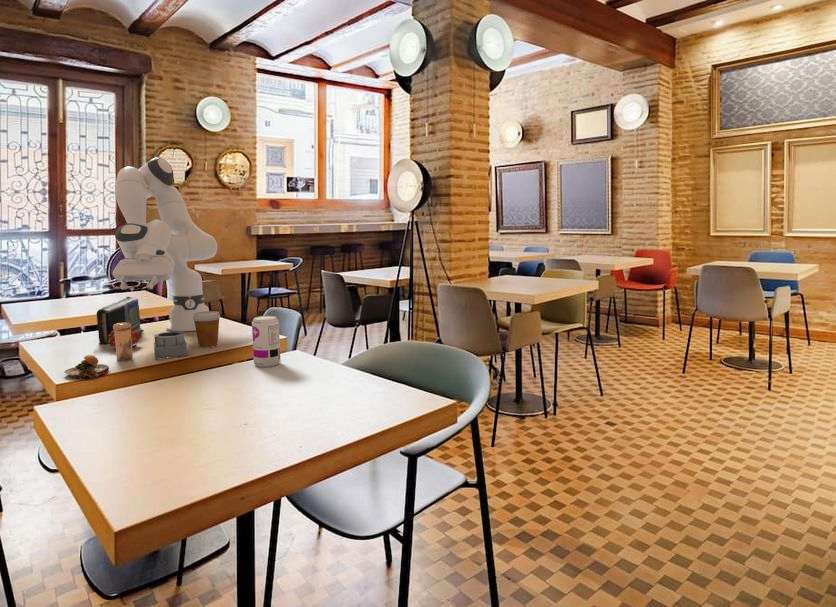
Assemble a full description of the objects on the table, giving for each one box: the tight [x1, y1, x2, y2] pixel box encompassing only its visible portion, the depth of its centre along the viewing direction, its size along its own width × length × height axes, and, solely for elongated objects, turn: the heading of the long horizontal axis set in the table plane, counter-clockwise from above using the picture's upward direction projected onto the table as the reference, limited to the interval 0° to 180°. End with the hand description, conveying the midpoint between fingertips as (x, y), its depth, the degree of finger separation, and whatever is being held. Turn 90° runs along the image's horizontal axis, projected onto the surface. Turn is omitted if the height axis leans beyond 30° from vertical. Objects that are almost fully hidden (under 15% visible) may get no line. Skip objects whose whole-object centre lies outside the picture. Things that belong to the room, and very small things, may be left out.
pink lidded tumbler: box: [113, 323, 134, 362], centre depth 194 cm, size 5×5×12 cm
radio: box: [96, 296, 145, 346], centre depth 226 cm, size 23×9×15 cm, turn 168°
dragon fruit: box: [108, 330, 142, 349], centre depth 211 cm, size 8×8×12 cm
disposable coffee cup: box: [192, 310, 221, 348], centre depth 213 cm, size 10×10×12 cm
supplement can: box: [251, 315, 281, 368], centre depth 187 cm, size 8×8×15 cm
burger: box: [64, 351, 110, 380], centre depth 177 cm, size 12×12×8 cm
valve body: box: [153, 331, 189, 360], centre depth 203 cm, size 16×10×7 cm, turn 25°
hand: (135, 288), depth 203 cm, fingers open, 8 cm apart
